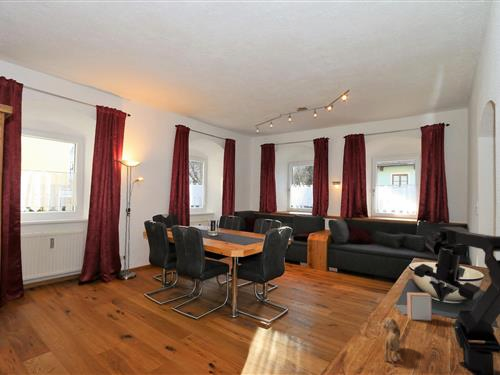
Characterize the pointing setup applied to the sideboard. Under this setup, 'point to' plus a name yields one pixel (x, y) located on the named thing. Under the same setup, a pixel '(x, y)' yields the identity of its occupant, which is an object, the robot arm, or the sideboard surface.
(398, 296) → the sideboard surface
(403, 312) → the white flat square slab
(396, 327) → the dog figurine
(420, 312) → the tile
